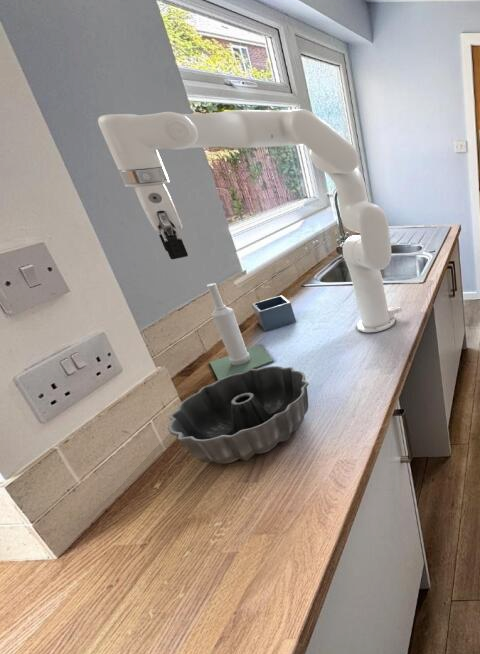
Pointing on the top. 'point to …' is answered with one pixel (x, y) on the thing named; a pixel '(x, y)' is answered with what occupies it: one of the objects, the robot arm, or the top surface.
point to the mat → (257, 359)
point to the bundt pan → (241, 414)
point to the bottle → (228, 329)
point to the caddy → (274, 312)
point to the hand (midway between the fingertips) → (176, 253)
